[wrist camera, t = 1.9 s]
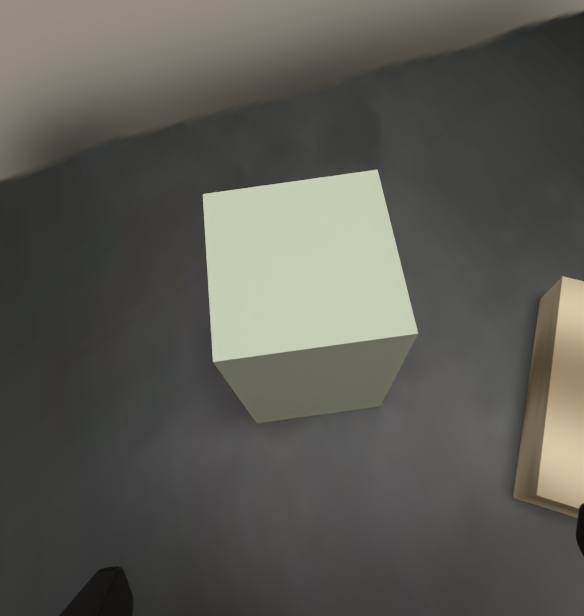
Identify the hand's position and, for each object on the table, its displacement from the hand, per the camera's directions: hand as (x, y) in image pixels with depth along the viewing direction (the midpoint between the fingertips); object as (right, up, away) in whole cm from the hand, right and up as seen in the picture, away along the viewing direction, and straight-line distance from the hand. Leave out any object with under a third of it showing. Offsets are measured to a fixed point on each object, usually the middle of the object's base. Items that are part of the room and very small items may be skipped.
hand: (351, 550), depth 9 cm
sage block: (0, +2, +15) cm, 15 cm away
